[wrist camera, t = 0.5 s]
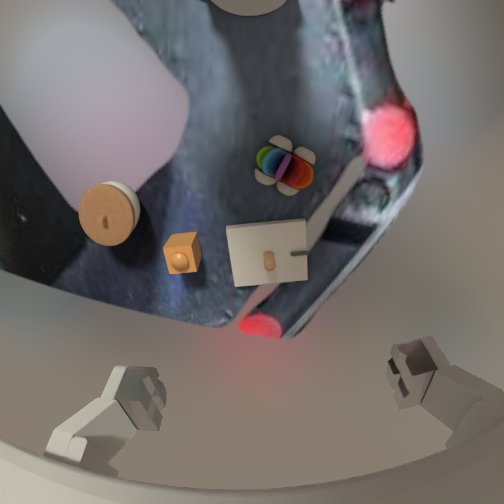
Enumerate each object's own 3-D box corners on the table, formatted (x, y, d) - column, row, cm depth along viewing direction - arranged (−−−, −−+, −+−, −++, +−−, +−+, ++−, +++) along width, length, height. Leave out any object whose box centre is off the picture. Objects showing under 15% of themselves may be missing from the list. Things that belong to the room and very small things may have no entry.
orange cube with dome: (171, 234, 55) (161, 250, 49) (197, 231, 55) (190, 247, 49) (176, 258, 57) (168, 276, 51) (201, 256, 57) (196, 274, 51)
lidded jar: (109, 235, 55) (87, 256, 47) (90, 184, 50) (65, 199, 42) (155, 222, 54) (139, 242, 45) (137, 167, 49) (116, 179, 41)
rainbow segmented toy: (296, 197, 52) (303, 210, 46) (246, 173, 50) (245, 182, 44) (319, 155, 49) (330, 162, 42) (268, 129, 47) (271, 131, 40)
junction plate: (226, 225, 54) (223, 237, 49) (304, 218, 54) (310, 229, 49) (235, 282, 59) (233, 298, 55) (306, 275, 59) (311, 291, 54)
